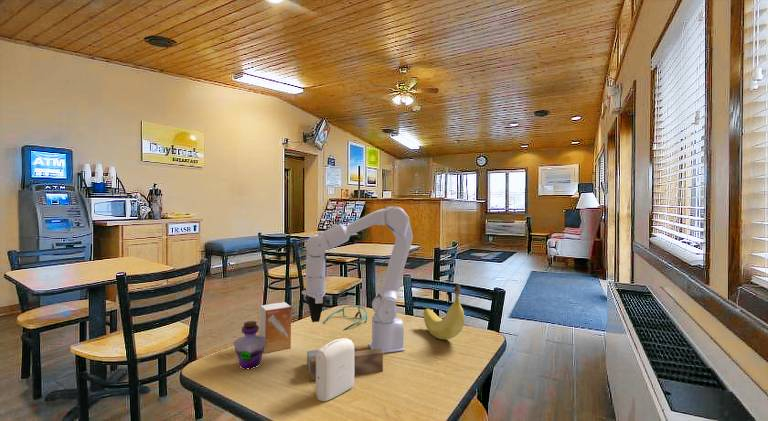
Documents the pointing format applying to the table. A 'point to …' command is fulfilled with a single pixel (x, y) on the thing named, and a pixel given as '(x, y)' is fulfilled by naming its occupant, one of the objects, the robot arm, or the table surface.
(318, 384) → the photo printer
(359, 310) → the safety glasses
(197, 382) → the table surface
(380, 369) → the walnut board
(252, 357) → the potion bottle
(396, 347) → the robot arm
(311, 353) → the slate block
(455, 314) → the banana
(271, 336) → the small box
